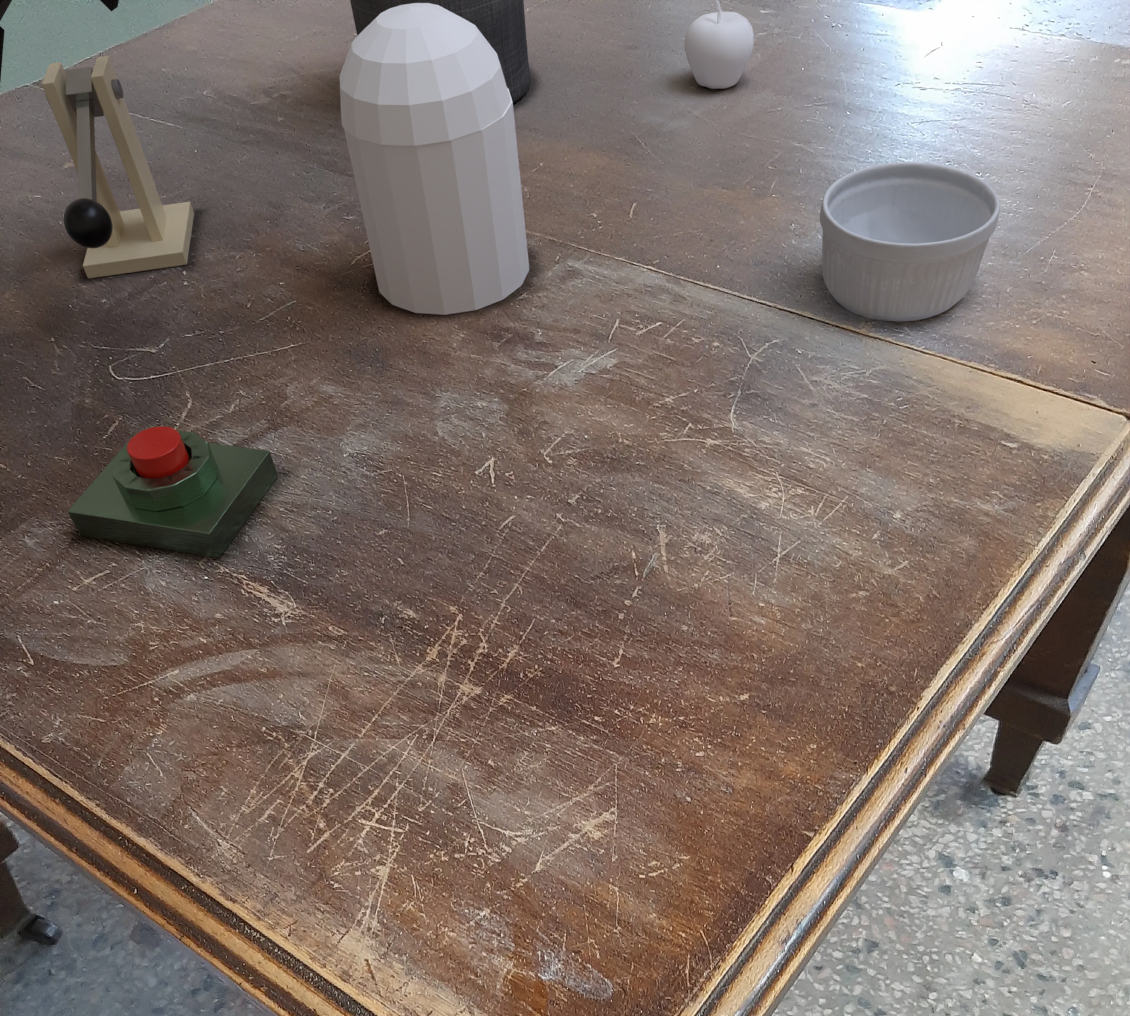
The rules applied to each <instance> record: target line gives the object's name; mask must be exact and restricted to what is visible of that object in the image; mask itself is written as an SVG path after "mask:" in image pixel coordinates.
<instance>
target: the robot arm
mask: <svg viewBox="0 0 1130 1016" xmlns="http://www.w3.org/2000/svg"><path fill="white" fill-rule="evenodd" d="M12 1H13V0H0V22H1V21H2V18H3V17H4V15H5V14H6V12H7V10H8V8H9V6H10V5H11V3H12ZM99 1H100V2H101V3H102V4H103V5H104V6H105V7H106V8H107V9H108V10H109V11H110V12H113V11H114V10H116V9H117V8H118V7H119V1H120V0H99ZM4 42H5V29H4V28H3V27H2V26H1V25H0V82H1V80H2V68H3V66H2V65H3V56H4V55H3V54H4Z"/></svg>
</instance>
